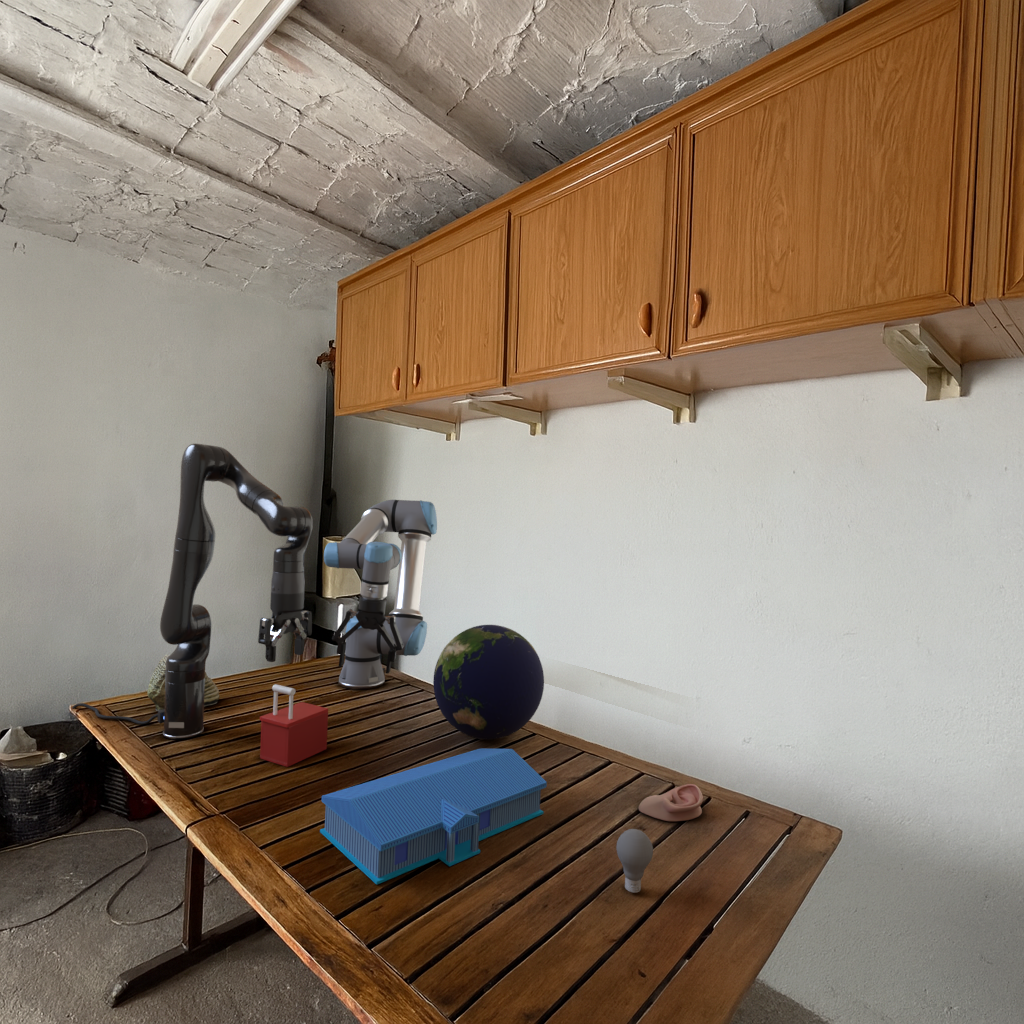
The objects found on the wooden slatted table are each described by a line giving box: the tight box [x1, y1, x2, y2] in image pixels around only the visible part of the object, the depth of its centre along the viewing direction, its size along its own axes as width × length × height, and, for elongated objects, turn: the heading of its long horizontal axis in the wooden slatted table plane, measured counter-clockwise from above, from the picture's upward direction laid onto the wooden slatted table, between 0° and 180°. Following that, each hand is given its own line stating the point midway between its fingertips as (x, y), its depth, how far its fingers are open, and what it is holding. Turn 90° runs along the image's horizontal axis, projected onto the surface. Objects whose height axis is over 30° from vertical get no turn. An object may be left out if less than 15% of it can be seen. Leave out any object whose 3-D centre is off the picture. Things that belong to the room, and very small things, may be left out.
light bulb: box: [615, 828, 654, 894], centre depth 106 cm, size 6×6×10 cm
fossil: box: [147, 654, 221, 711], centre depth 185 cm, size 9×18×15 cm, turn 132°
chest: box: [259, 711, 329, 768], centre depth 155 cm, size 13×9×9 cm
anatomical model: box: [638, 783, 704, 822], centre depth 135 cm, size 13×4×12 cm
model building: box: [319, 747, 548, 885], centre depth 124 cm, size 39×24×10 cm, turn 132°
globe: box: [432, 624, 545, 740], centre depth 172 cm, size 30×30×30 cm
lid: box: [259, 683, 329, 728], centre depth 155 cm, size 13×9×8 cm
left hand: (285, 657), depth 151 cm, fingers open, 8 cm apart
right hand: (364, 668), depth 182 cm, fingers open, 13 cm apart
